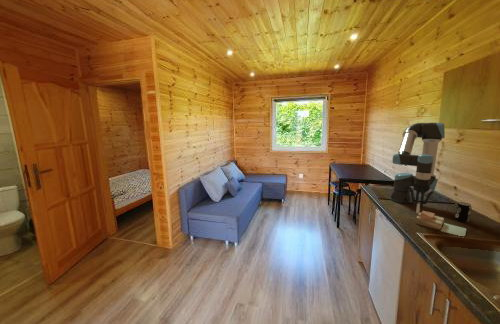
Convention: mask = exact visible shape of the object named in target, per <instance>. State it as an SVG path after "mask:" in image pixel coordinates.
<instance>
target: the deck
mask: <svg viewBox="0 0 500 324" xmlns="http://www.w3.org/2000/svg"><path fill="white" fill-rule="evenodd" d="M421 213H422V211H420V212H419V213H417V216H416V217H415V222H414V223H415V224H417V225H420V226H424V227H427V228H431V229H435V230H439V231H441V229H442V227H443V225H444V220H445V218H444V217H442V216H438V215H434V218H433V219H432V221H431V220H427V219H423V218H420V214H421Z"/></svg>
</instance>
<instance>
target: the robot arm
mask: <svg viewBox="0 0 500 324" xmlns="http://www.w3.org/2000/svg"><path fill="white" fill-rule="evenodd" d="M445 129H446V128H445V124H444V123H442V122H417V123H414V124H413V123H412V124H411V125H409V126H408V127H406V128H405V129H404V131H403V133H402V140H401V143H400V146H399V149H398V152H397V153H394V154H392V164H394V165H400V166H410V167H411V166H412V167H416V170H415V175H414V174H413V173H410V172H398V173H396V174H395V175H394V179H393V181H394V182H393V188H392V189H393V190H392V192H391V194H390V195H389V200H390V201H393V202H395V203H399V204H404V205H405V204H406V205H407V204H413V203H414V208H416V211H415V214H419V213H420V212H421V210H422V209H423V207H424V205H427V203H428V201H429V200H430V198H431V196H432V194H434V193H435V189H436V187H437V185H438V181H439V179H438V178H437V176H436V175H435V168H436V161H437V153H438V147H439V143H440V142H441V141H443V140H444V139H445V136H446V135H445V134H446V133H445V132H446V131H445ZM417 138H418V139H421V141H422V142H423V143H422V145H423V146H422V152H421V154H419V155H416V154H415V155H414V154H412V152H413V147H414V144H415V141H416V139H417ZM414 191H415V192H414ZM415 193H416V194H415ZM420 193H421V195H420ZM425 193H428V194H427V196H426V198H425ZM419 198H420V202H419ZM412 202H413V203H412Z"/></svg>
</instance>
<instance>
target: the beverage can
mask: <svg viewBox="0 0 500 324" xmlns="http://www.w3.org/2000/svg"><path fill="white" fill-rule="evenodd" d="M471 211H472V204H471V203H468V202H465V201H458V203H457V205H456V209H455V214H454V219H455V221H458V222H460V223H466V224H467V223H468V222H469V221H470V217H471V213H472V212H471Z"/></svg>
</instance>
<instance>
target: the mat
mask: <svg viewBox="0 0 500 324" xmlns="http://www.w3.org/2000/svg"><path fill="white" fill-rule="evenodd" d="M440 232H443V233H447V234H450V235H453V236H457V235H458V236H457V237H460V236H465V237H466V232H467V228H466V227H463V226H462V227H461V226H457V225H454V224H450V223H446V222H443V225H442V227H441V229H440Z"/></svg>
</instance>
